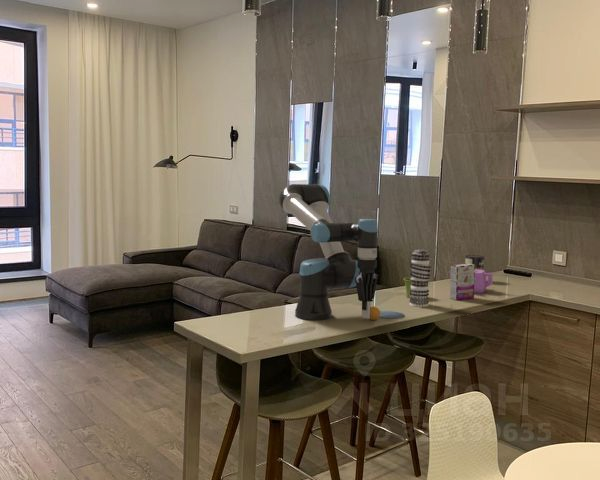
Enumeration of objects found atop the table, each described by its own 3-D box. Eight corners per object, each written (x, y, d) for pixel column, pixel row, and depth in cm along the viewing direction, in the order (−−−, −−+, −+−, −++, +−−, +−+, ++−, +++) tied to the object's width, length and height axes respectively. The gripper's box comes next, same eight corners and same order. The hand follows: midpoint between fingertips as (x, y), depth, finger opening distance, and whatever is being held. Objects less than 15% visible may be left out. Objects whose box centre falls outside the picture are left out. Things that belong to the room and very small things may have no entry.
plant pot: (408, 299, 288) (408, 281, 287) (399, 295, 297) (400, 277, 296) (426, 298, 291) (426, 280, 290) (417, 294, 300) (417, 277, 299)
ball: (363, 320, 246) (363, 306, 245) (371, 317, 250) (371, 304, 249) (375, 322, 242) (375, 308, 242) (382, 320, 246) (383, 306, 246)
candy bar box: (466, 296, 297) (468, 263, 295) (474, 298, 292) (475, 264, 291) (449, 298, 292) (450, 264, 290) (456, 300, 287) (457, 266, 285)
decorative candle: (406, 302, 281) (407, 248, 278) (425, 302, 281) (427, 248, 279) (411, 307, 272) (413, 251, 269) (431, 306, 272) (434, 251, 270)
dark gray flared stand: (485, 280, 343) (486, 255, 342) (479, 283, 335) (481, 257, 333) (467, 278, 349) (468, 254, 347) (461, 281, 340) (462, 256, 339)
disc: (367, 315, 254) (367, 314, 254) (384, 310, 264) (384, 309, 264) (394, 320, 246) (394, 319, 246) (410, 314, 256) (410, 314, 256)
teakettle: (494, 293, 308) (496, 268, 306) (465, 294, 302) (466, 270, 301) (475, 287, 324) (476, 264, 322) (447, 288, 318) (448, 265, 317)
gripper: (365, 260, 232) (363, 322, 234) (384, 257, 241) (383, 316, 244) (349, 259, 237) (348, 318, 239) (369, 256, 246) (367, 313, 249)
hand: (365, 317), depth 241 cm, fingers closed
